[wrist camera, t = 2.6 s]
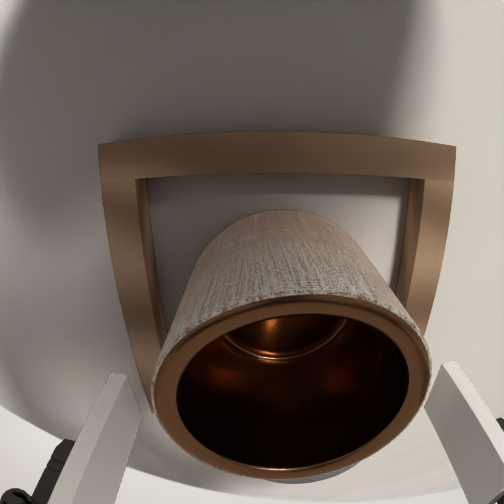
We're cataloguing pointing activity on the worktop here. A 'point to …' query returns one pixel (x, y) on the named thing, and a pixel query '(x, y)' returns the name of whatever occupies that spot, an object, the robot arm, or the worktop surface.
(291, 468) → the planter
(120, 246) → the holder frame
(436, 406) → the robot arm
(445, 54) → the worktop surface
